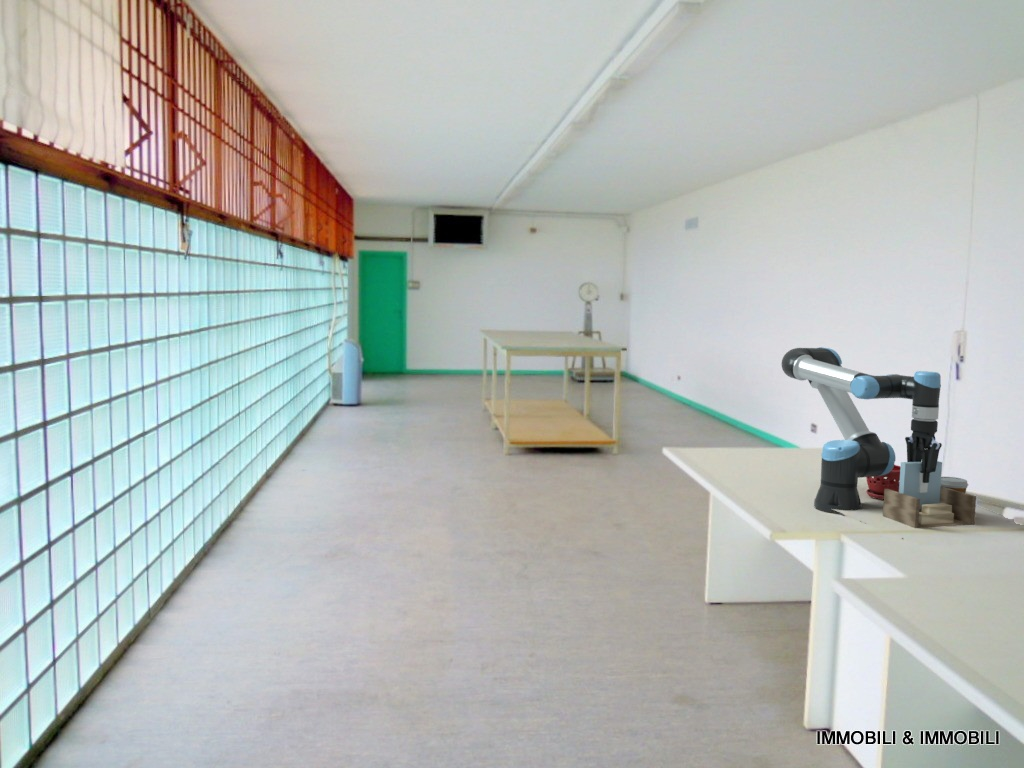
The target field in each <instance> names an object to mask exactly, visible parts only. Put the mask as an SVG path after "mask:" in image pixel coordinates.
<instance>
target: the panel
mask: <svg viewBox="0 0 1024 768" xmlns="http://www.w3.org/2000/svg"><path fill="white" fill-rule="evenodd" d="M900 466H901V468H900V481H899V482H900V483H899V493H903V494H906V495H909V496H912V497H915V498H918V499H920V507H919V509H922V505H926V504H939V500H940V486H941V477H942V470H943V462H942V461H939V460H937V466H936V471H935V472H931V473H930V476H929V483H928V488H927V492H925V493H919V492H918V490H919V476H920V471H922V461H921V462H907V461H905V462H904V461H901V462H900ZM926 469H927V468H926Z"/></svg>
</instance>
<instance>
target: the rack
mask: <svg viewBox="0 0 1024 768" xmlns="http://www.w3.org/2000/svg"><path fill="white" fill-rule="evenodd" d="M939 503H946V504H949V505H952V513H954V521H953V523H937V524H919V523H918V522H919V512H921V511H922V509H919V507H920V499H918V498H915V497H912V496H909V495H906V494H903V493H899V492H896V491H893V490H890V489H884V500H883V508H882V509H883V510H882V517H883V518H887V519H889V520H892V521H895V522H897V523H900V524H902V525H905V526H909V527H911V528H914V529H920V528H921V529H922V528H924V529H925V528H937V527H939V528H940V527H954V526H956V527H957V526H970V525H971V526H973V525H975V518H976V508H977V507H976V504H977V496H976V495H974V494H969V493H967V492H966V493H963V492H960V491H956V490H952V489H949V488H945V487H942V486H940V500H939Z"/></svg>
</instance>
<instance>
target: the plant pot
mask: <svg viewBox="0 0 1024 768" xmlns="http://www.w3.org/2000/svg"><path fill="white" fill-rule="evenodd" d="M900 468H901V465H897V464H894V467H893V469H892V470H891V471H890V472H889V473H888V474H886V475H882V476H878V477H865V478H866V484H867V487H868V489H866V491H865V492H866V494H867V495H868V497H870V496H871V497H870V498H872V497H874V498H873V499H875V498H879V499H878V500H880V499H884V489H890V490H893V491H896V492H899V483H900Z"/></svg>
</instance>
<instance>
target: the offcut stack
mask: <svg viewBox="0 0 1024 768" xmlns="http://www.w3.org/2000/svg"><path fill="white" fill-rule="evenodd" d="M953 521H954V513H952V505H949V504H946V503H939V504H926V505H922V511H921V512H919V522H918V523H919V524H937V523H953Z"/></svg>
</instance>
